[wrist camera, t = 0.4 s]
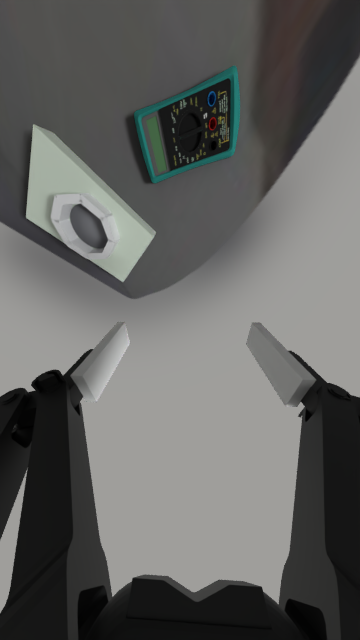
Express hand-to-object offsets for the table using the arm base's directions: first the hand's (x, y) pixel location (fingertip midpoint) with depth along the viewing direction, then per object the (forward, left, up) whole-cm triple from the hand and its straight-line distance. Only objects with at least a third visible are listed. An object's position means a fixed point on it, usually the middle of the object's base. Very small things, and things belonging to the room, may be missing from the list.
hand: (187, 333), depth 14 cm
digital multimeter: (-12, -11, -27) cm, 32 cm away
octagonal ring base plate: (+9, -17, -27) cm, 33 cm away
